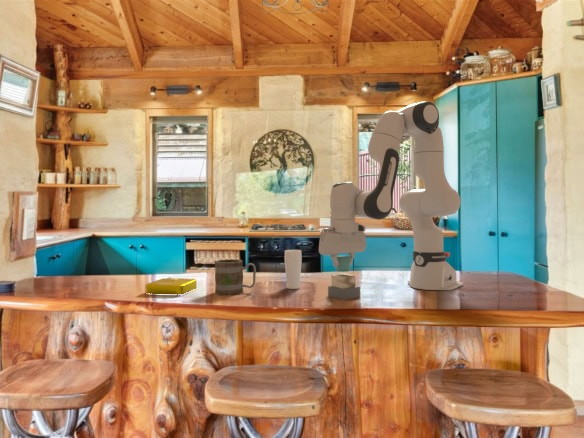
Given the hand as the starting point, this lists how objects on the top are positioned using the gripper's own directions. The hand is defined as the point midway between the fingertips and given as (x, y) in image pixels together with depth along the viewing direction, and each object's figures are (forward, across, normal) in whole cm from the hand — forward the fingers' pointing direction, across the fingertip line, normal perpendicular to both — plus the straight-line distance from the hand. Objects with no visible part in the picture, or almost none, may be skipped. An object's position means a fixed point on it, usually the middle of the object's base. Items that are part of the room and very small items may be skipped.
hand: (343, 265), depth 146 cm
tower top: (+7, 0, 0) cm, 7 cm away
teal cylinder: (+2, 0, 0) cm, 2 cm away
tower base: (+11, 0, -1) cm, 11 cm away
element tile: (+11, -45, +47) cm, 66 cm away
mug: (+11, -27, +30) cm, 42 cm away
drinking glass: (+11, -5, +23) cm, 26 cm away
